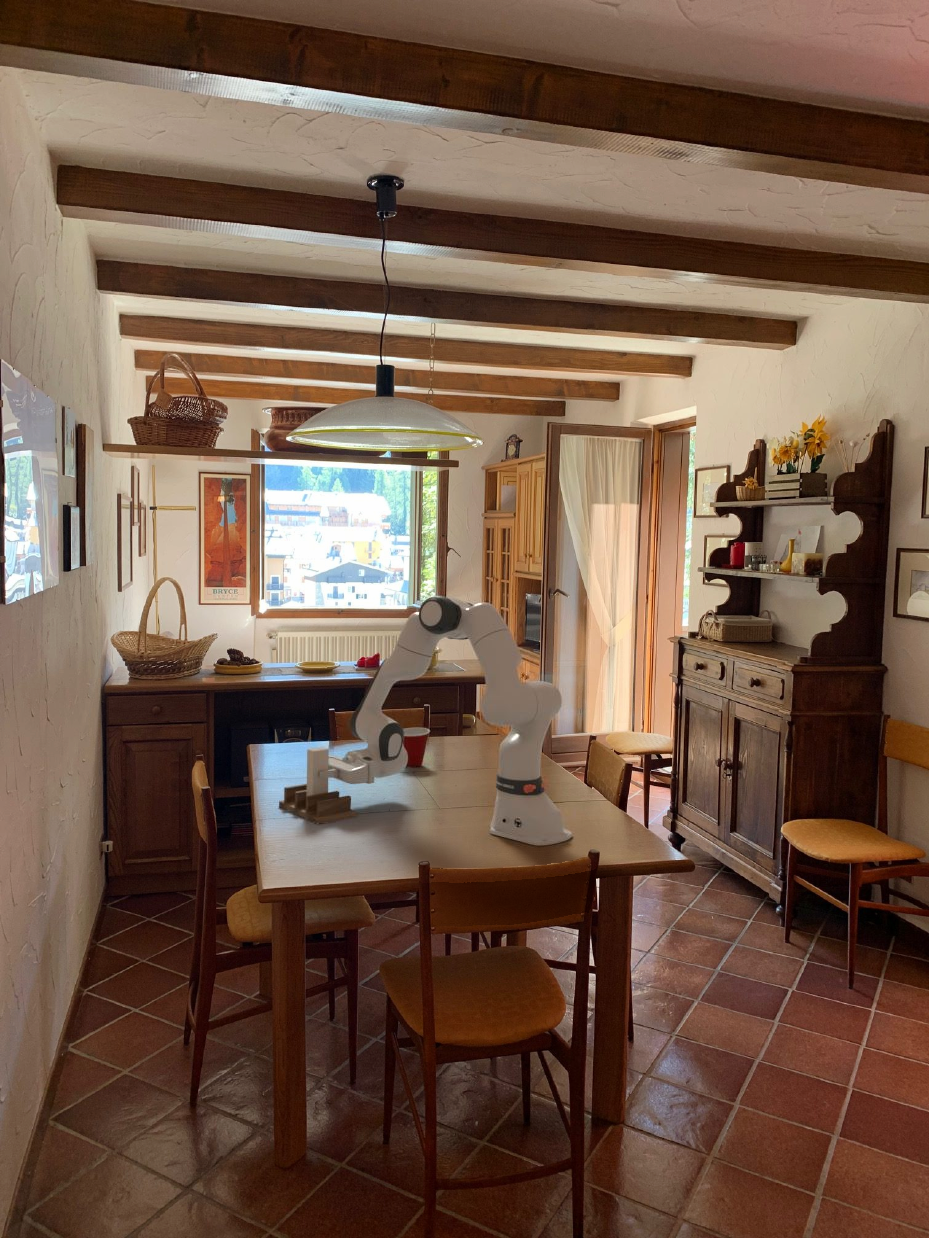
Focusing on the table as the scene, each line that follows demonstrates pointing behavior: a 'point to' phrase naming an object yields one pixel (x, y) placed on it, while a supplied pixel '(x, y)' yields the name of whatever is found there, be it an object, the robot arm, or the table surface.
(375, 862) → the table surface
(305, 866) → the table surface
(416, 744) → the plastic cup
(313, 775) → the clay strip
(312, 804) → the drying rack
